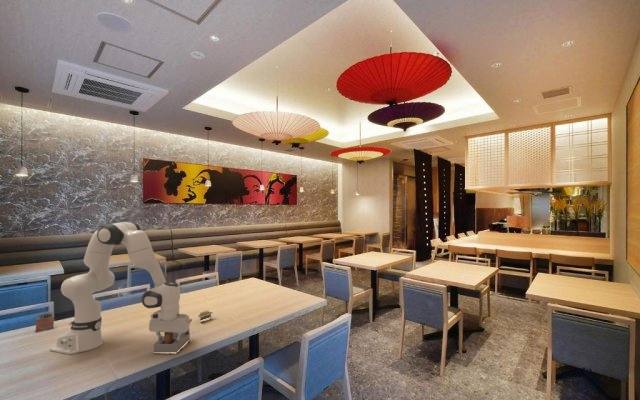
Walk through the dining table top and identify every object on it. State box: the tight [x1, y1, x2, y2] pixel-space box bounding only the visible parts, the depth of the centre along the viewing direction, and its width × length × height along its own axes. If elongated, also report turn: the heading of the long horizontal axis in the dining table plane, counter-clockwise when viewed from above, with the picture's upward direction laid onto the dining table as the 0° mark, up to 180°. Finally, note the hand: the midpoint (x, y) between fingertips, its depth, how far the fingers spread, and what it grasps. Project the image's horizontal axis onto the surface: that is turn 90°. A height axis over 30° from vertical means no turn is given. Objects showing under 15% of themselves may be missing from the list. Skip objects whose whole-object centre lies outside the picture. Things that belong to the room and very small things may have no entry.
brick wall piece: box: [35, 312, 55, 333], centre depth 173 cm, size 8×3×10 cm, turn 135°
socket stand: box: [152, 318, 193, 352], centre depth 156 cm, size 12×16×12 cm
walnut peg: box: [163, 332, 173, 344], centre depth 151 cm, size 4×4×10 cm
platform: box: [197, 310, 214, 321], centre depth 192 cm, size 12×18×7 cm, turn 147°
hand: (168, 340), depth 151 cm, fingers open, 8 cm apart
